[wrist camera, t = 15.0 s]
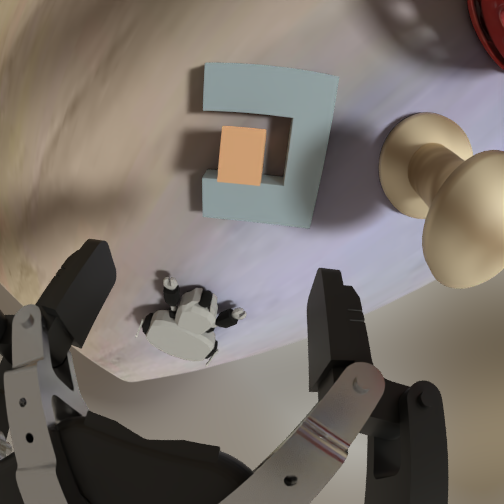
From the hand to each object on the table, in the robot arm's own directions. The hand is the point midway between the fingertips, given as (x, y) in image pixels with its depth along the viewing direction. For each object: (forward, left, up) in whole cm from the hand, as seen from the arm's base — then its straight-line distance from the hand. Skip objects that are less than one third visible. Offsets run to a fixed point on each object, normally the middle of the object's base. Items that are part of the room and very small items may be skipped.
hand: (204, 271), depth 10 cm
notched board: (0, +1, -16) cm, 16 cm away
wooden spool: (-1, +17, -16) cm, 24 cm away
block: (+1, 0, -16) cm, 16 cm away
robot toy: (+25, -7, -17) cm, 31 cm away
